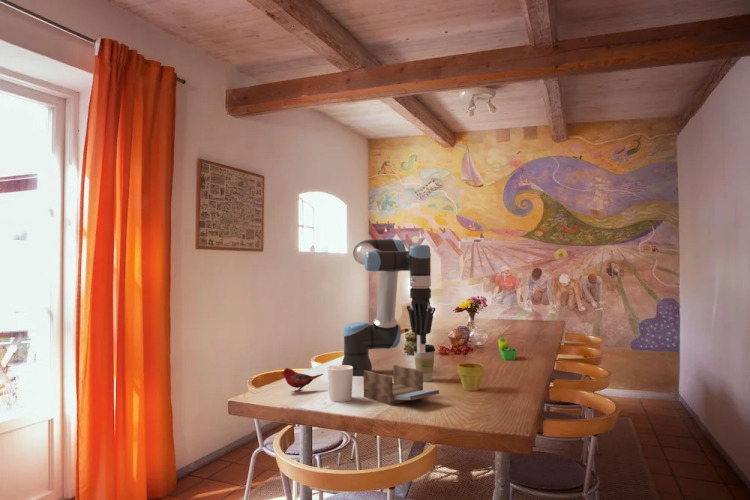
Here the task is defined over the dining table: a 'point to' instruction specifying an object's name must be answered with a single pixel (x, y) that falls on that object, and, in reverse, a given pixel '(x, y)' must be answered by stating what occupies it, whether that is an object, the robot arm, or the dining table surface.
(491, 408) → the dining table surface
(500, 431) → the dining table surface
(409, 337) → the decorative figurine
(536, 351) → the dining table surface
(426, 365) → the coffee cup
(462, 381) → the plant pot
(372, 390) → the small wooden shelf
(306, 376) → the decorative bird figurine
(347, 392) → the candle holder
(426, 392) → the pale grey panel
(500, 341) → the fruit basket
